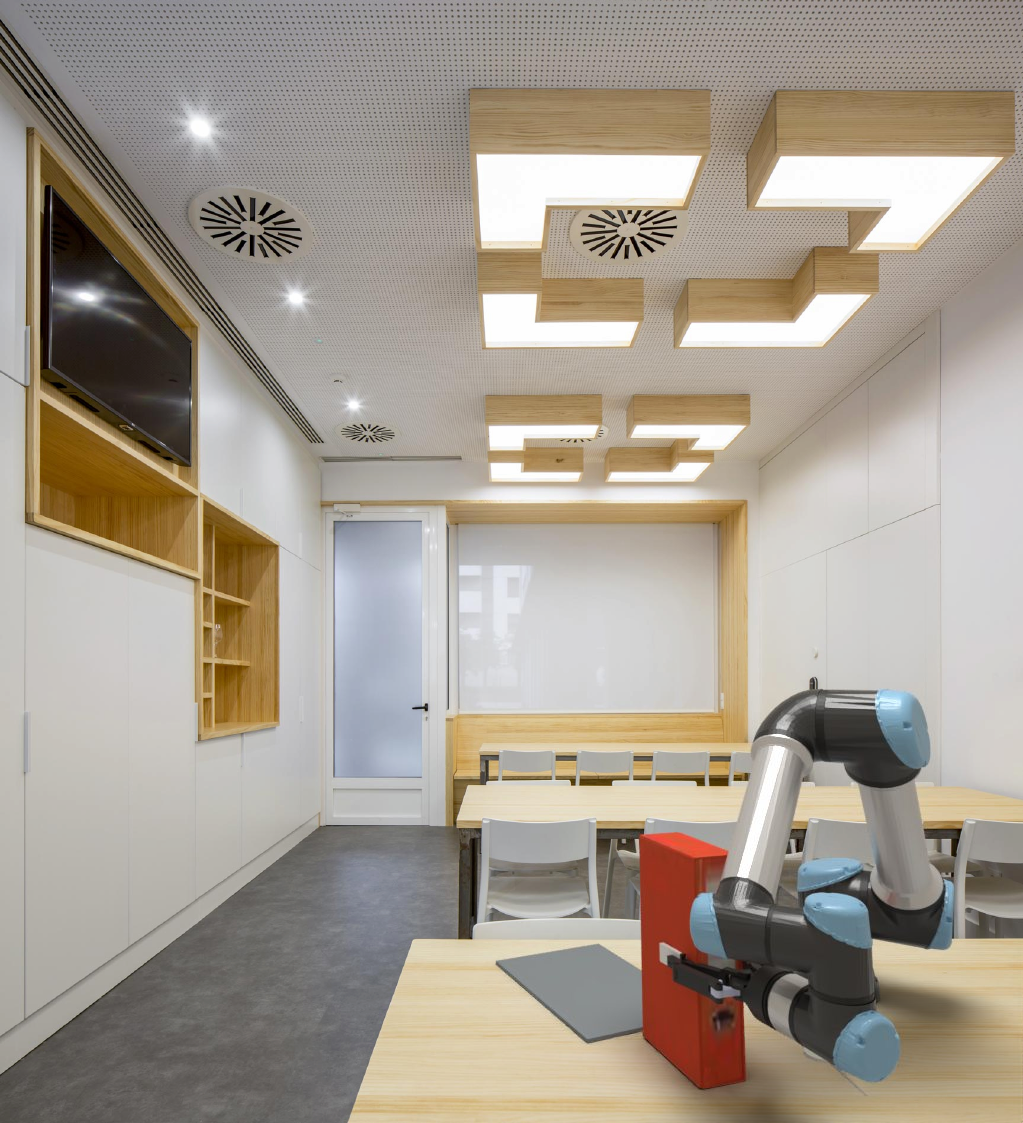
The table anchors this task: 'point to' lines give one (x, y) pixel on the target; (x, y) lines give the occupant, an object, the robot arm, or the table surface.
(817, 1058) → the sign
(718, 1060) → the file binder
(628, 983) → the mat
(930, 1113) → the table surface
